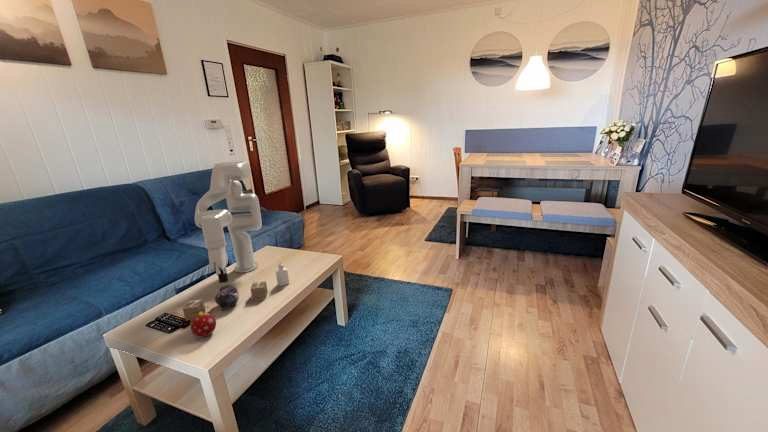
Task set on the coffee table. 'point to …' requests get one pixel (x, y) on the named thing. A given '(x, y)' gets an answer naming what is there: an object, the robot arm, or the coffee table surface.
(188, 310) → the brown cube
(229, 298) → the mineral specimen
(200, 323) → the christmas ornament
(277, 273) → the eye dropper bottle
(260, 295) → the walnut block
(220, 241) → the robot arm
